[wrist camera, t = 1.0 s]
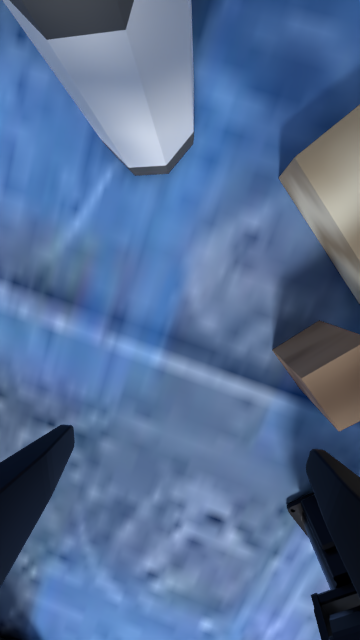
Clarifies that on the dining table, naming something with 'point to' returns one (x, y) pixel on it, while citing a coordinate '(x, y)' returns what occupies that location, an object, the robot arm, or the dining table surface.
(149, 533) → the dining table surface
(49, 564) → the dining table surface
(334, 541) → the robot arm
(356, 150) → the birch base
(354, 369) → the walnut block
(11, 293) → the dining table surface
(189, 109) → the wine bottle
